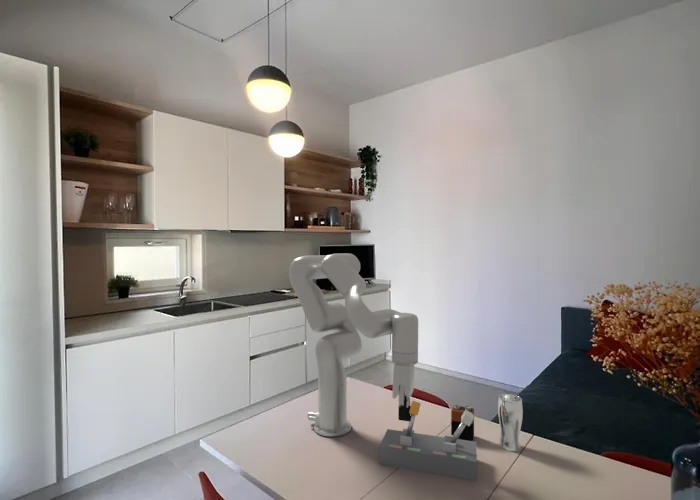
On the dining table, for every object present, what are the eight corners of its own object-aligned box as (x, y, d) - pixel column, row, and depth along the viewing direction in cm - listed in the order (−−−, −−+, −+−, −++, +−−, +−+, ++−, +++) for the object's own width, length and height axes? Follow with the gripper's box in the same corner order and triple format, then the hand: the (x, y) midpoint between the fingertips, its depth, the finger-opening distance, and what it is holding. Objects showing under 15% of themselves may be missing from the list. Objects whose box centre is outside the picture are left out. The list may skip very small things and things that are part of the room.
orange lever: (402, 439, 111) (411, 404, 110) (404, 434, 114) (412, 400, 114) (410, 443, 111) (419, 407, 110) (412, 437, 114) (420, 403, 113)
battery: (473, 442, 122) (473, 410, 122) (451, 438, 124) (451, 407, 124) (474, 435, 126) (474, 405, 126) (452, 432, 128) (452, 402, 128)
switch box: (379, 464, 109) (379, 438, 109) (387, 445, 120) (387, 421, 120) (476, 480, 102) (476, 453, 102) (476, 459, 112) (476, 434, 112)
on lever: (445, 445, 108) (465, 414, 106) (446, 439, 111) (465, 409, 109) (453, 450, 107) (473, 419, 105) (454, 445, 110) (473, 414, 108)
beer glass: (521, 443, 121) (521, 395, 121) (523, 454, 115) (523, 403, 115) (497, 439, 124) (497, 392, 123) (498, 450, 117) (498, 400, 117)
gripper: (397, 348, 121) (396, 407, 121) (386, 362, 106) (386, 429, 107) (421, 351, 118) (420, 411, 119) (414, 365, 104) (413, 433, 104)
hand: (404, 419), depth 113 cm, fingers closed
